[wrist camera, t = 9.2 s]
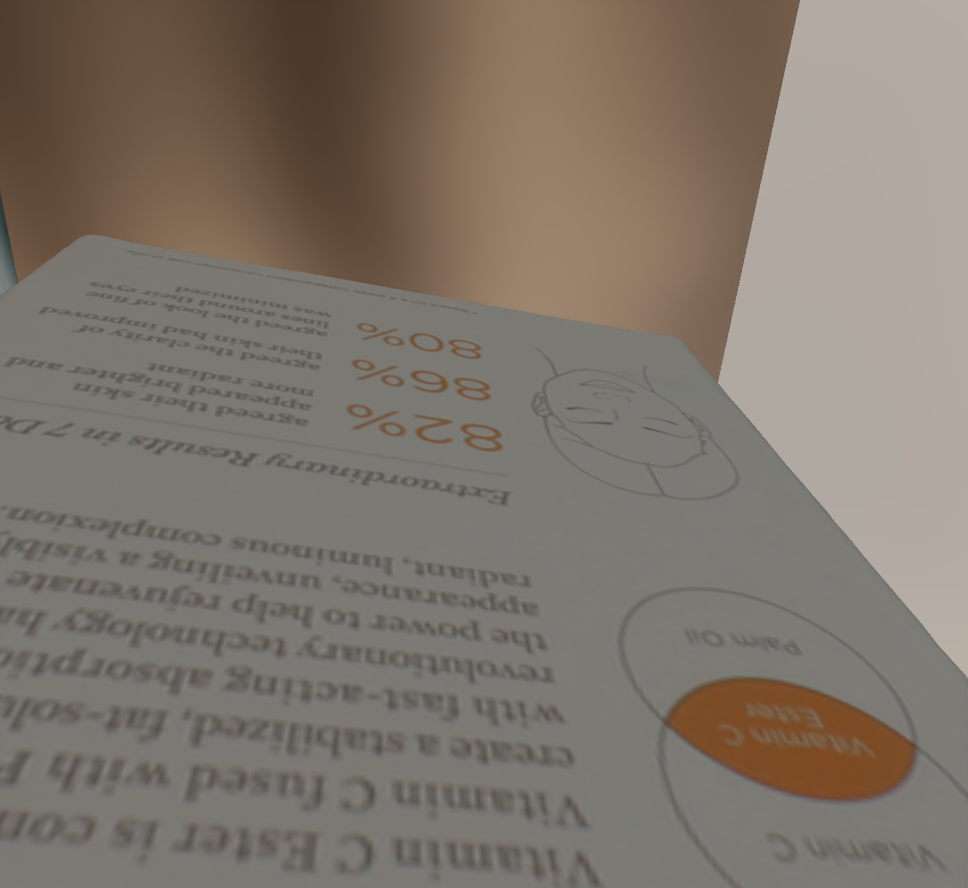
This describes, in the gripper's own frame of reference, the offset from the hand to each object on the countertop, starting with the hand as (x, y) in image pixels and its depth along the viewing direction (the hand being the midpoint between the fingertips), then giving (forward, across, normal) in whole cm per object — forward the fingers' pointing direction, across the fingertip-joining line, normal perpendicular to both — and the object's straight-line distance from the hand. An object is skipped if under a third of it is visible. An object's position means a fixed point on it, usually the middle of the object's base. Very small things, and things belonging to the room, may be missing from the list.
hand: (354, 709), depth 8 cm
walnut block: (+15, 0, 0) cm, 15 cm away
